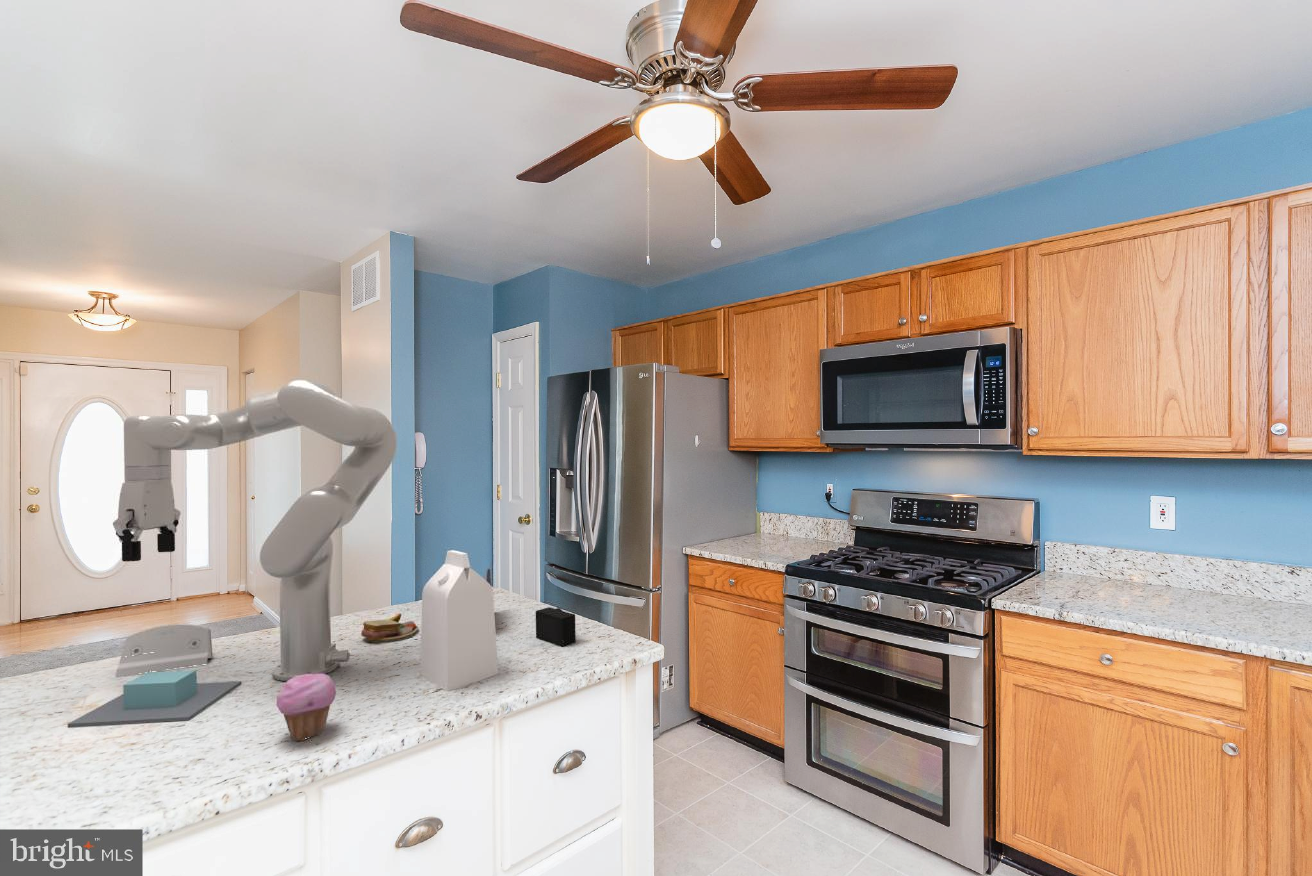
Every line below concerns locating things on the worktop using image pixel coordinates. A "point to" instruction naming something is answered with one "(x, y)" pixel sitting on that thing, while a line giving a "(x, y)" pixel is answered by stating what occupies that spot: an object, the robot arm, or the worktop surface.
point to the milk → (457, 626)
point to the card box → (160, 689)
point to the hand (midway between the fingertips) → (149, 556)
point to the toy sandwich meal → (388, 629)
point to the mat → (156, 708)
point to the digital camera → (555, 626)
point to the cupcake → (306, 704)
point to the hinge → (165, 649)
